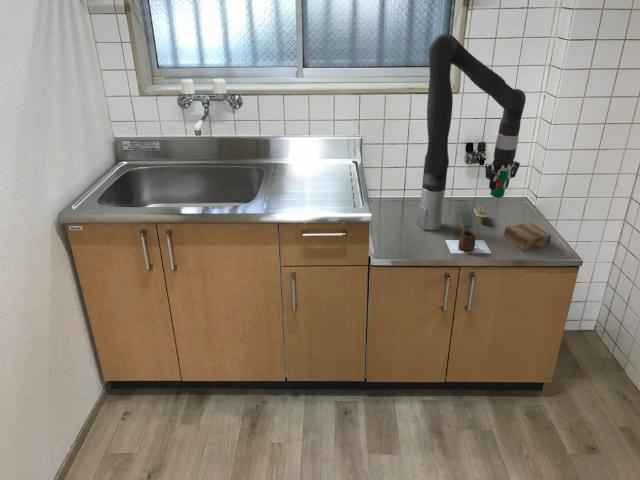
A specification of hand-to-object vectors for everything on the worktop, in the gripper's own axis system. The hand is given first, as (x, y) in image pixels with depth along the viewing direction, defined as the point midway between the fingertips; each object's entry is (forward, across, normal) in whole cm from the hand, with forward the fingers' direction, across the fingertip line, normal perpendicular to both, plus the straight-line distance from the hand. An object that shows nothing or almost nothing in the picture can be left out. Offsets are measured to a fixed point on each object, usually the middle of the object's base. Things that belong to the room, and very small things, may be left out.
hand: (498, 188), depth 194 cm
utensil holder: (+21, -15, -6) cm, 27 cm away
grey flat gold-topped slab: (+22, +5, +15) cm, 27 cm away
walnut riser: (+21, +11, -8) cm, 25 cm away
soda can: (+3, 0, 0) cm, 3 cm away
